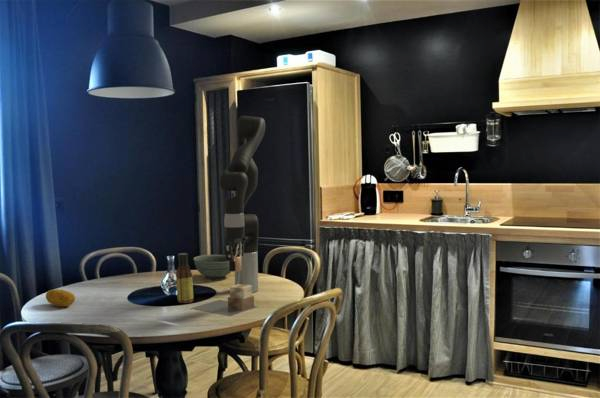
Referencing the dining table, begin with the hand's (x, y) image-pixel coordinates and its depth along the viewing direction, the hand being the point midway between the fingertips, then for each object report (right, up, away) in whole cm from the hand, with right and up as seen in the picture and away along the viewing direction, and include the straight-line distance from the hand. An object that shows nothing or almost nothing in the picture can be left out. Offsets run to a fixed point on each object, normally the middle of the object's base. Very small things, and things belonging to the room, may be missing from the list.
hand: (235, 269), depth 217 cm
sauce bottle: (-21, -15, +11) cm, 28 cm away
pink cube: (0, 0, 0) cm, 0 cm away
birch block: (+2, -10, +1) cm, 11 cm away
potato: (-70, -16, +9) cm, 72 cm away
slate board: (-4, -15, +1) cm, 16 cm away
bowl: (-16, -12, +60) cm, 63 cm away
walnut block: (+2, -14, +1) cm, 14 cm away
